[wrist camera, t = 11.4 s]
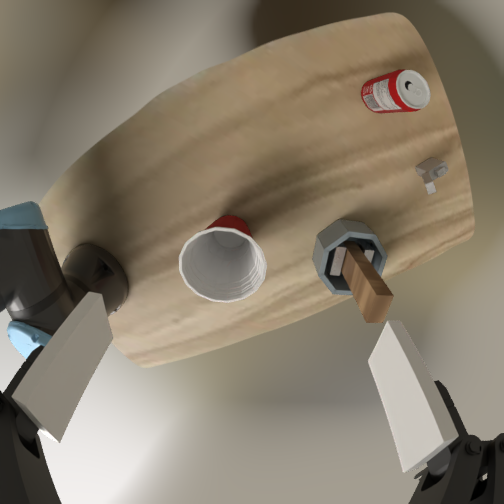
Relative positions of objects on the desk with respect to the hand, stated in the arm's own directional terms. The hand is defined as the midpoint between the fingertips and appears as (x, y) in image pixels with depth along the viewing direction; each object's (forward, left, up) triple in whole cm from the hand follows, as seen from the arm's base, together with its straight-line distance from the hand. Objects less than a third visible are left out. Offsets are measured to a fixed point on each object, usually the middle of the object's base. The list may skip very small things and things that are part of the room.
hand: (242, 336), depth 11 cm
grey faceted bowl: (+16, -9, -32) cm, 37 cm away
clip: (+16, -9, -32) cm, 37 cm away
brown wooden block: (+16, -9, -31) cm, 36 cm away
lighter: (+27, +7, -32) cm, 42 cm away
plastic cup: (-3, -8, -32) cm, 33 cm away
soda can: (+17, +17, -32) cm, 40 cm away
